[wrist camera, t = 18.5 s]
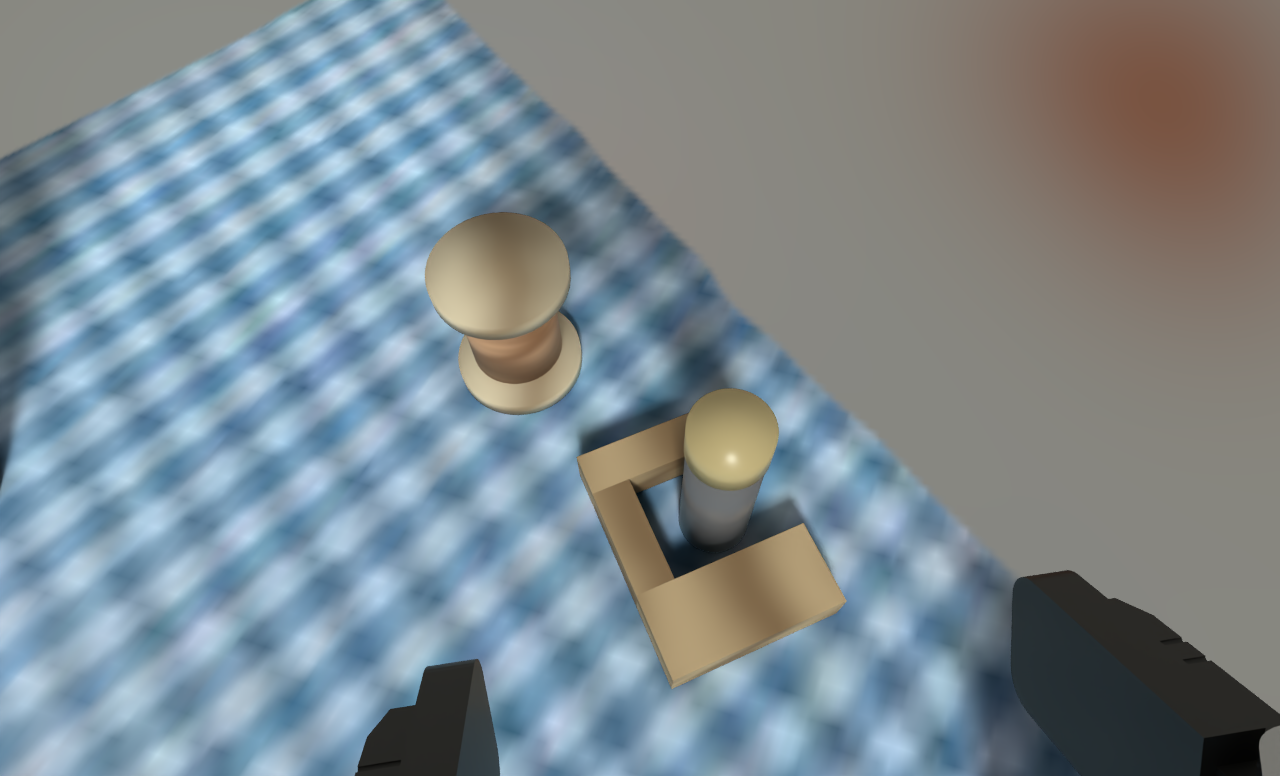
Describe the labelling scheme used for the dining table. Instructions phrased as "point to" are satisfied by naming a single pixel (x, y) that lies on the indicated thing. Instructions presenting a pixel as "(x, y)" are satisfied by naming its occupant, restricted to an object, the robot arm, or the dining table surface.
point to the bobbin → (507, 310)
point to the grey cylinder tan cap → (724, 466)
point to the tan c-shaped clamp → (714, 594)
